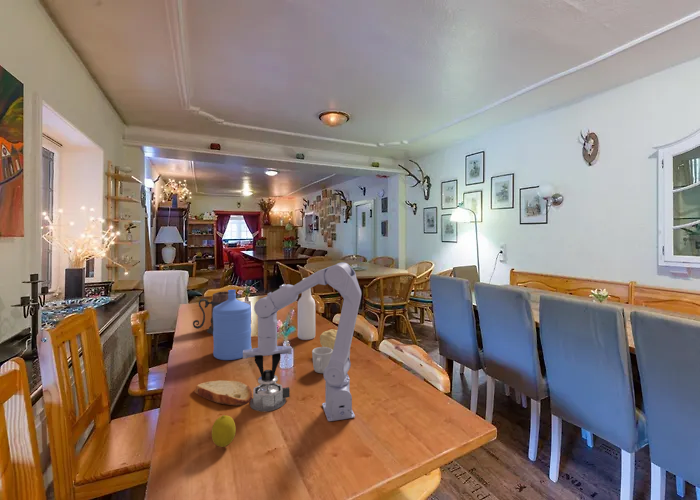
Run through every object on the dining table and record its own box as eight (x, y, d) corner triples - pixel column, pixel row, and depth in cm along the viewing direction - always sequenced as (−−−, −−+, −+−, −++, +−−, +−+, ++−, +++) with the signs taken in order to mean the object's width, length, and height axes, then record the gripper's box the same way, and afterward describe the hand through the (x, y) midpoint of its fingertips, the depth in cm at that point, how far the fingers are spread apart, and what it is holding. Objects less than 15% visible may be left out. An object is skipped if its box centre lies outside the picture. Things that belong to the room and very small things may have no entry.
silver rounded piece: (279, 395, 99) (279, 374, 99) (256, 398, 97) (256, 376, 97) (278, 385, 106) (278, 365, 105) (257, 388, 104) (256, 368, 103)
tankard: (237, 323, 188) (237, 289, 187) (242, 331, 173) (241, 294, 172) (192, 328, 177) (191, 292, 176) (193, 338, 162) (192, 298, 161)
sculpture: (315, 353, 142) (315, 329, 142) (337, 347, 150) (337, 324, 150) (332, 361, 134) (332, 335, 133) (353, 354, 142) (353, 330, 141)
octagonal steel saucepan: (290, 405, 99) (290, 393, 99) (253, 410, 96) (252, 398, 96) (288, 391, 108) (288, 380, 107) (253, 395, 105) (253, 384, 105)
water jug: (253, 357, 137) (252, 292, 135) (212, 363, 131) (211, 294, 130) (250, 345, 151) (249, 286, 150) (213, 350, 146) (212, 288, 144)
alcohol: (296, 335, 167) (296, 277, 165) (313, 334, 169) (313, 276, 167) (298, 341, 158) (298, 280, 157) (316, 339, 161) (316, 279, 159)
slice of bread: (195, 388, 111) (195, 377, 111) (250, 380, 117) (250, 370, 117) (188, 416, 94) (188, 403, 94) (253, 405, 101) (252, 393, 100)
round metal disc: (287, 408, 98) (287, 407, 98) (249, 414, 95) (249, 412, 95) (284, 391, 108) (284, 390, 108) (250, 395, 106) (250, 394, 106)
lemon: (238, 439, 83) (238, 409, 83) (231, 454, 78) (231, 421, 77) (216, 439, 83) (216, 409, 83) (208, 454, 78) (207, 422, 77)
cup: (327, 379, 117) (327, 358, 117) (306, 377, 119) (306, 356, 118) (335, 367, 128) (335, 347, 127) (315, 365, 129) (315, 346, 129)
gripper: (290, 329, 106) (290, 370, 107) (243, 333, 102) (244, 375, 103) (292, 336, 99) (292, 379, 100) (242, 340, 96) (242, 385, 96)
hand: (267, 378), depth 101 cm, fingers closed on silver rounded piece, 2 cm apart
